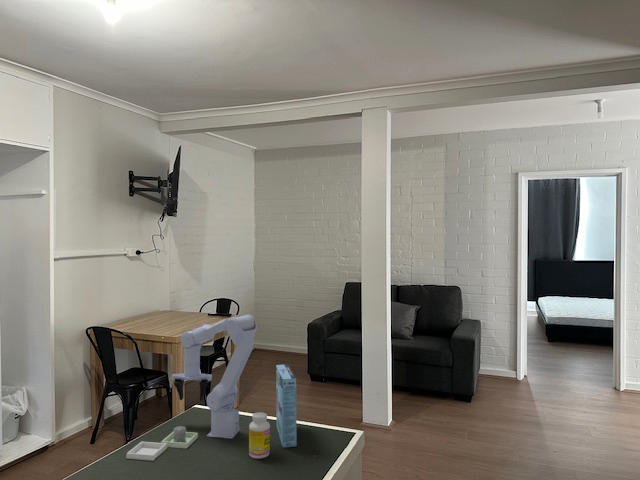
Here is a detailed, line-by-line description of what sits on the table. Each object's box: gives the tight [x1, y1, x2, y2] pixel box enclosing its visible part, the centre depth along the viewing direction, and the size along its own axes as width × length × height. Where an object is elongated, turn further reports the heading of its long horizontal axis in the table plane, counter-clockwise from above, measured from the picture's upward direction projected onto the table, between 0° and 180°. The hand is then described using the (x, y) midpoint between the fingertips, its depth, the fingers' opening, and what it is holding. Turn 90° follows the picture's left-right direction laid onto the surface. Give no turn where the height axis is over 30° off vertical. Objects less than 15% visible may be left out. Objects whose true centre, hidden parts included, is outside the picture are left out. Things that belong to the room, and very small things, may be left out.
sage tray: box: [160, 430, 199, 449], centre depth 162 cm, size 9×9×2 cm
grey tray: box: [125, 441, 168, 462], centre depth 153 cm, size 9×9×2 cm
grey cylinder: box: [173, 425, 187, 443], centre depth 162 cm, size 4×4×5 cm
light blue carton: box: [275, 364, 298, 448], centre depth 169 cm, size 20×5×23 cm, turn 11°
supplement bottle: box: [248, 411, 271, 459], centre depth 154 cm, size 7×7×13 cm
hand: (191, 399), depth 178 cm, fingers open, 7 cm apart
